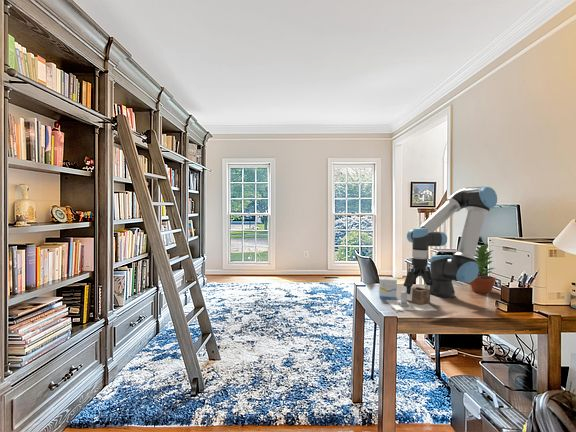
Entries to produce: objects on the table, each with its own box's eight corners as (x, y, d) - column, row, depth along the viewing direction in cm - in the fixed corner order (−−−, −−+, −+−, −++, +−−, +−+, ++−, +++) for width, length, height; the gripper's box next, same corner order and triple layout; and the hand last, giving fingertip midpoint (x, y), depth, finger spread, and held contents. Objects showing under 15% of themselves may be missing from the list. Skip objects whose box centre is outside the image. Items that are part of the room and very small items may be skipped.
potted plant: (479, 287, 227) (480, 241, 226) (500, 293, 212) (502, 243, 212) (461, 289, 221) (463, 241, 221) (482, 294, 207) (484, 244, 206)
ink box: (396, 302, 187) (397, 280, 186) (379, 300, 188) (380, 279, 188) (394, 298, 195) (395, 277, 195) (379, 296, 197) (379, 276, 196)
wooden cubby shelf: (417, 299, 188) (417, 285, 187) (429, 303, 181) (430, 288, 181) (406, 301, 184) (407, 286, 183) (419, 305, 177) (420, 290, 176)
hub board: (422, 302, 186) (423, 287, 186) (437, 312, 168) (438, 296, 168) (385, 302, 186) (385, 286, 186) (396, 312, 168) (396, 295, 168)
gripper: (429, 255, 191) (427, 294, 192) (397, 258, 178) (395, 299, 179) (441, 257, 185) (440, 297, 185) (409, 260, 172) (407, 303, 172)
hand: (418, 298), depth 182 cm, fingers open, 13 cm apart
